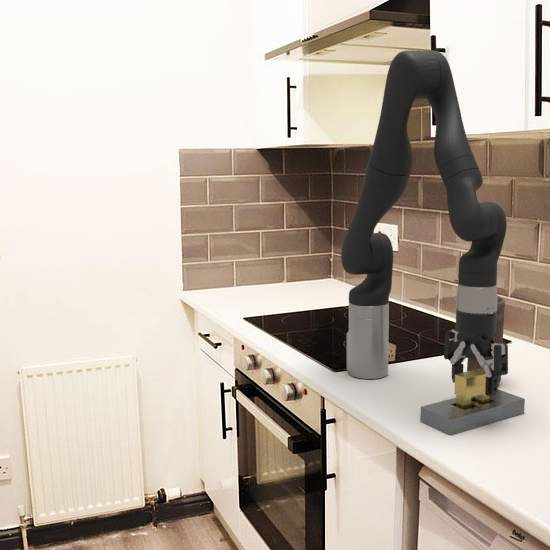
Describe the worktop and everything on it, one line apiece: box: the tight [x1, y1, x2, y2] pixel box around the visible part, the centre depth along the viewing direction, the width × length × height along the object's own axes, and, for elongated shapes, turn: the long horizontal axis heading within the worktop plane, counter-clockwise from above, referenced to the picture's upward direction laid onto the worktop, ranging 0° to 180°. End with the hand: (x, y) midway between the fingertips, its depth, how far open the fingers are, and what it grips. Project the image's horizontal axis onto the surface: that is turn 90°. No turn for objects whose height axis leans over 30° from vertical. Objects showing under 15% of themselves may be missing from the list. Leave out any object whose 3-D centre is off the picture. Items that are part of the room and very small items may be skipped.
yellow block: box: [454, 368, 490, 410], centre depth 136 cm, size 3×7×8 cm, turn 120°
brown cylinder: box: [466, 295, 506, 384], centre depth 155 cm, size 8×7×20 cm
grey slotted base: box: [420, 388, 526, 436], centre depth 137 cm, size 8×20×3 cm, turn 121°
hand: (473, 388), depth 136 cm, fingers open, 8 cm apart
